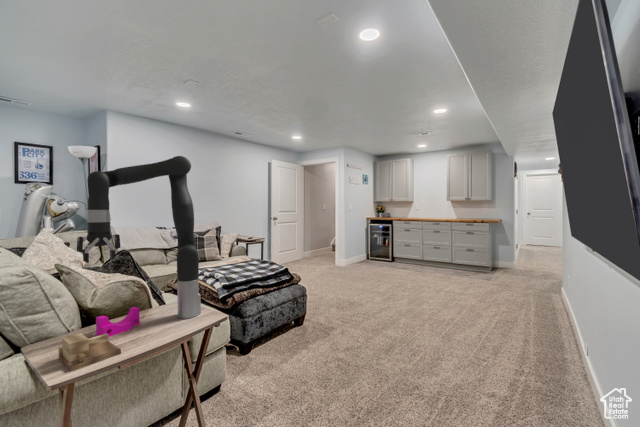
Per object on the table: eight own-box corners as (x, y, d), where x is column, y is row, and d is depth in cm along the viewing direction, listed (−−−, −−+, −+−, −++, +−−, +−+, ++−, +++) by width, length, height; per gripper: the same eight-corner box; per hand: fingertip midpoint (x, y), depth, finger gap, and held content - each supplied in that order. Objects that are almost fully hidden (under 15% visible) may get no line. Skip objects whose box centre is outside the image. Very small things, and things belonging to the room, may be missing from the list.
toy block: (103, 339, 117) (103, 320, 117) (96, 335, 120) (95, 317, 120) (142, 326, 130) (142, 309, 130) (135, 323, 133) (134, 306, 133)
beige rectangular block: (81, 350, 104) (80, 333, 104) (92, 359, 98) (91, 341, 98) (62, 355, 100) (62, 338, 100) (73, 365, 94) (72, 346, 94)
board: (106, 343, 112) (106, 333, 112) (121, 353, 105) (120, 342, 104) (58, 359, 101) (58, 347, 101) (70, 371, 93) (70, 358, 93)
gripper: (115, 220, 128) (115, 257, 128) (73, 221, 116) (74, 262, 117) (122, 220, 124) (123, 259, 124) (80, 222, 112) (81, 264, 112)
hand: (99, 260), depth 120 cm, fingers open, 8 cm apart
